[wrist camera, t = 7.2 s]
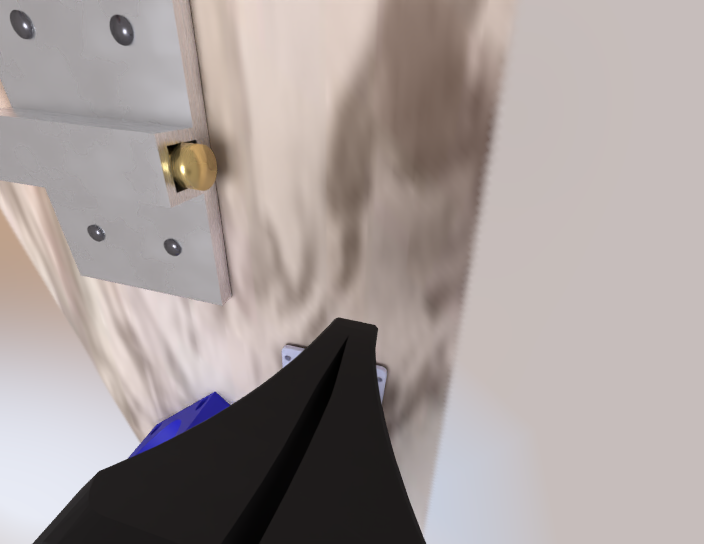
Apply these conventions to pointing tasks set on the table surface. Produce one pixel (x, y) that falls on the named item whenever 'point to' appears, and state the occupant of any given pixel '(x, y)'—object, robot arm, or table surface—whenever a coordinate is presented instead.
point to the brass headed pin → (193, 166)
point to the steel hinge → (113, 137)
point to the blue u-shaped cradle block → (183, 421)
